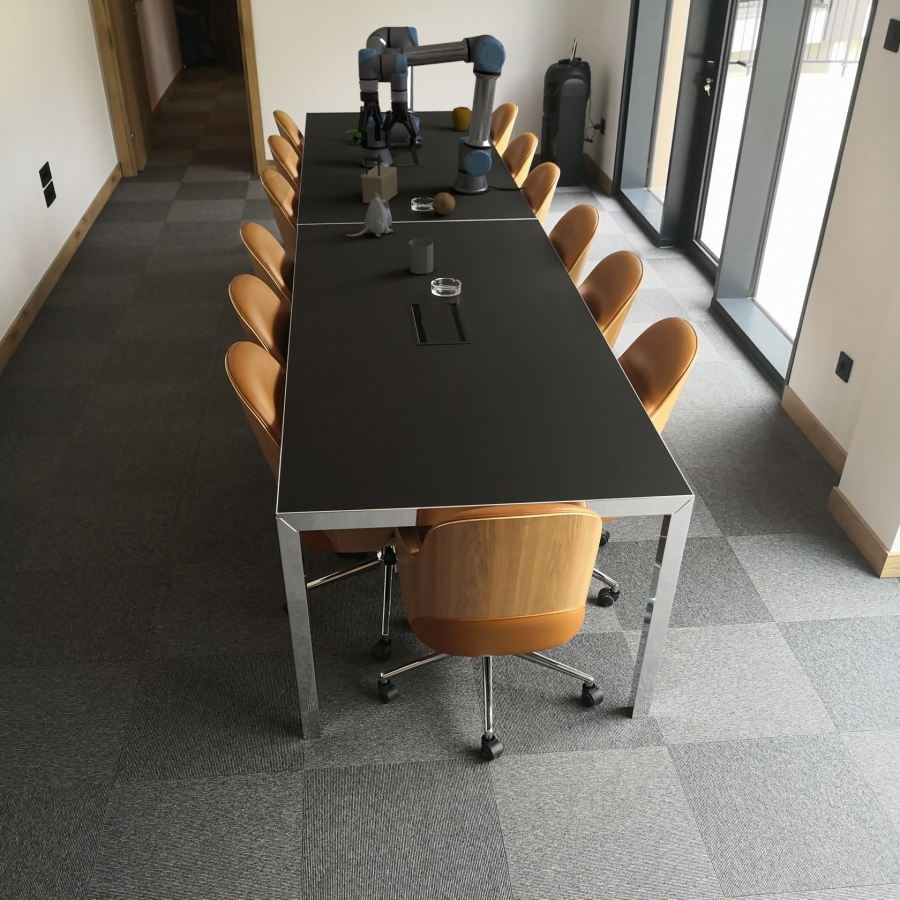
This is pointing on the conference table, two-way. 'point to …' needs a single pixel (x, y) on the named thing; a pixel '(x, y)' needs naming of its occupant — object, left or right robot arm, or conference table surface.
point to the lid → (377, 169)
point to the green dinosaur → (355, 137)
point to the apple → (461, 118)
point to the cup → (421, 256)
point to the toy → (377, 217)
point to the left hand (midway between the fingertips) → (400, 149)
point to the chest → (380, 188)
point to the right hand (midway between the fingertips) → (371, 144)
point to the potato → (443, 203)
